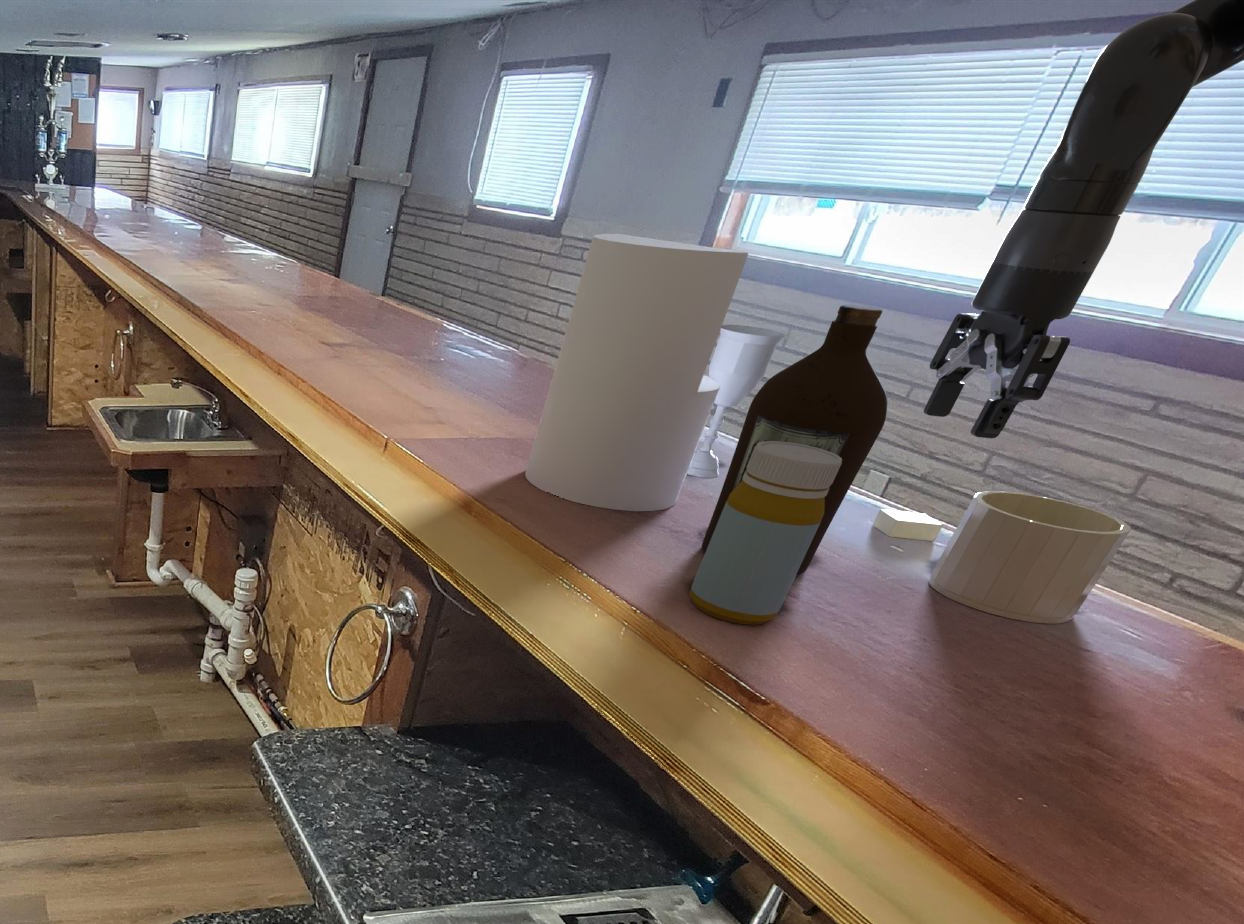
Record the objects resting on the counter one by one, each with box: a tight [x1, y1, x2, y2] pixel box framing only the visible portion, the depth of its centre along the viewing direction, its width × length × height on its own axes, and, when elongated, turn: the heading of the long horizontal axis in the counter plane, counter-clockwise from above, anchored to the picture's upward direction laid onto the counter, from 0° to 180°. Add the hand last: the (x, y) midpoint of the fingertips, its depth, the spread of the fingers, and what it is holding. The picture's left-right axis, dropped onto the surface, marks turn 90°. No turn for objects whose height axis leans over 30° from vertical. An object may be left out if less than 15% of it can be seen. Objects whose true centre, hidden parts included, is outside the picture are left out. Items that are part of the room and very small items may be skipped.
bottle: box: [688, 441, 842, 626], centre depth 80 cm, size 7×7×15 cm
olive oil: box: [701, 304, 888, 577], centre depth 88 cm, size 11×11×25 cm
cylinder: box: [524, 233, 749, 512], centre depth 106 cm, size 17×17×28 cm
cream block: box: [872, 508, 944, 542], centre depth 103 cm, size 5×4×2 cm
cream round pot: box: [928, 490, 1132, 625], centre depth 86 cm, size 11×11×9 cm
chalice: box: [687, 324, 786, 479], centre depth 116 cm, size 7×7×18 cm
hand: (957, 425), depth 97 cm, fingers open, 8 cm apart
